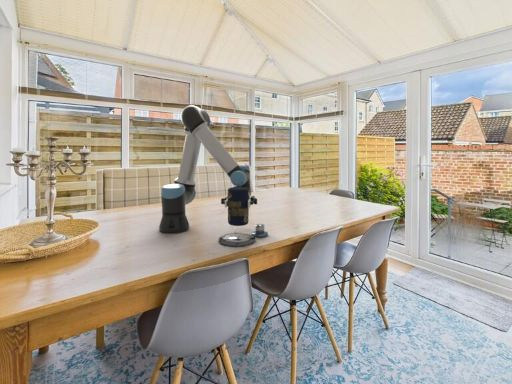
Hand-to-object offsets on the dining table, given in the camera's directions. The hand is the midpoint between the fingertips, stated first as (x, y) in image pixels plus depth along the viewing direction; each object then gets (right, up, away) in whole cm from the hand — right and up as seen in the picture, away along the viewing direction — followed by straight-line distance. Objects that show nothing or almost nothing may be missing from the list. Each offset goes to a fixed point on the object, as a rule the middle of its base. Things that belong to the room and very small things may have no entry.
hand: (237, 204), depth 128 cm
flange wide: (0, -17, +6) cm, 18 cm away
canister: (0, -10, +5) cm, 11 cm away
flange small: (+10, -16, +15) cm, 24 cm away
